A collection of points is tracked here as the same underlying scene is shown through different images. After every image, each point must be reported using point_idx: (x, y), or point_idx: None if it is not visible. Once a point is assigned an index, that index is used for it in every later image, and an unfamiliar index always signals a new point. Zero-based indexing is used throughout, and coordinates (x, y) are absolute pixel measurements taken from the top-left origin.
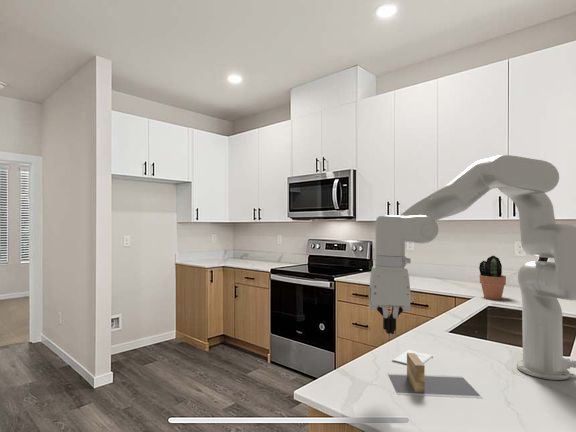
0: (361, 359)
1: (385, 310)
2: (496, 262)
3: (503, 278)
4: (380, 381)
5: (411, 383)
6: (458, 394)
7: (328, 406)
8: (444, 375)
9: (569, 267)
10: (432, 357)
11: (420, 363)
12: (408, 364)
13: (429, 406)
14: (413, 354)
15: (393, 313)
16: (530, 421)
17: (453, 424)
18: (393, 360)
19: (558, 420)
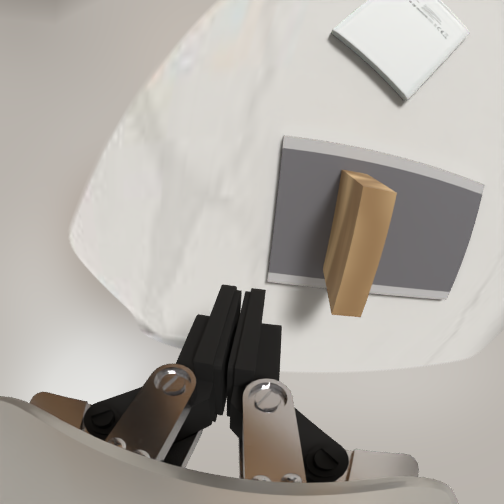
0: (224, 5)
1: (169, 461)
2: None
3: None
4: (247, 181)
5: (332, 228)
6: (415, 284)
7: (121, 301)
8: (451, 173)
9: None
10: (466, 35)
11: (357, 301)
12: (348, 203)
13: (324, 318)
14: (382, 209)
15: (240, 456)
16: (448, 351)
17: (331, 366)
18: (337, 33)
19: (479, 344)
